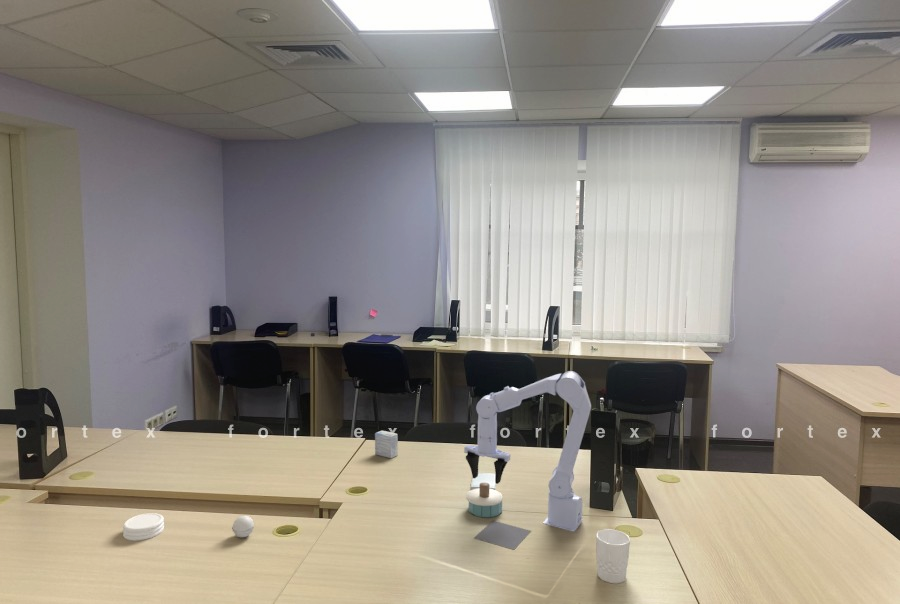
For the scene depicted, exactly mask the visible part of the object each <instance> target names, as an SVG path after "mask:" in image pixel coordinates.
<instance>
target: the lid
mask: <svg viewBox="0 0 900 604" xmlns="http://www.w3.org/2000/svg"><path fill="white" fill-rule="evenodd" d="M465 497H466V498H465V499H466V501H467V502H468V503H469V502H470V503H472V504H475V505H479V506H492V505H496V504H499V503H500V502H501V501H502V502H503V494H502V493H501V492H500V491H498V490H496V489H495V490H493V489H489V483H480V488H478V489H473V490H471V489H470V490H468V491H467V492H466V494H465Z"/></svg>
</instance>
